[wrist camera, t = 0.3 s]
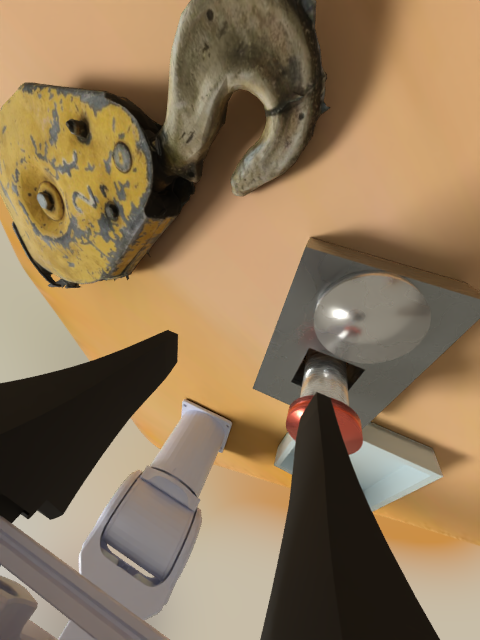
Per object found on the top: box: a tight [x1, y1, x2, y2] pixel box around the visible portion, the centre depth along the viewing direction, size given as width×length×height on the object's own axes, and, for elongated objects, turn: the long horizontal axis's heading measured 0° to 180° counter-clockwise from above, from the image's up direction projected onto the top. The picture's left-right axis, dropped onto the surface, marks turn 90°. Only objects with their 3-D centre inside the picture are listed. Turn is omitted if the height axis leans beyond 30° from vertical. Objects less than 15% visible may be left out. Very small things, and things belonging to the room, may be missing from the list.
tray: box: [274, 422, 443, 512], centre depth 24 cm, size 12×12×2 cm
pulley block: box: [0, 0, 330, 289], centre depth 16 cm, size 14×6×30 cm
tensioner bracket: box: [253, 237, 480, 429], centre depth 17 cm, size 14×10×4 cm
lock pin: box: [286, 348, 363, 455], centre depth 16 cm, size 4×4×8 cm
